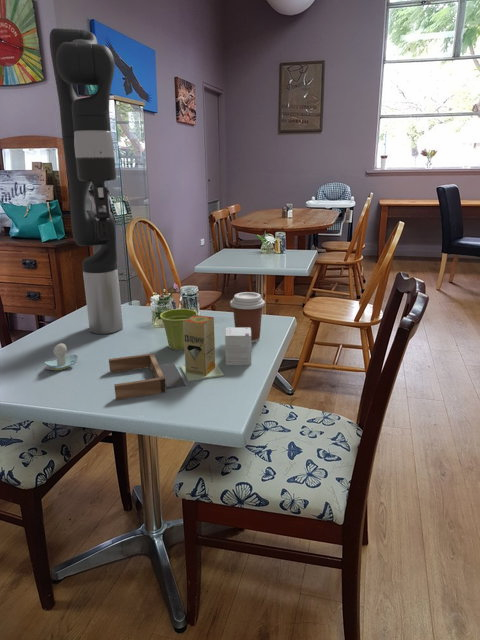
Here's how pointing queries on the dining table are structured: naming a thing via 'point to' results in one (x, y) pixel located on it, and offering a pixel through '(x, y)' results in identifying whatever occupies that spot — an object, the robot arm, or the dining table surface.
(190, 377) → the pad
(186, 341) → the shoe polish box
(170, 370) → the dark grey flat bar
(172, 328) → the plant pot
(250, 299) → the coffee cup
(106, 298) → the robot arm
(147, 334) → the dining table surface
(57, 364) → the pacifier
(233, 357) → the skincare box
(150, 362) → the brown wooden u-shaped piece
